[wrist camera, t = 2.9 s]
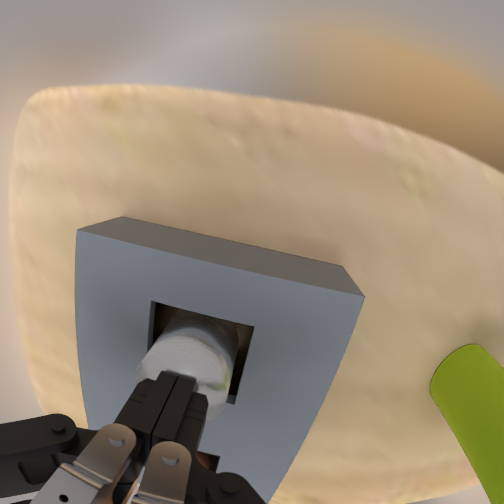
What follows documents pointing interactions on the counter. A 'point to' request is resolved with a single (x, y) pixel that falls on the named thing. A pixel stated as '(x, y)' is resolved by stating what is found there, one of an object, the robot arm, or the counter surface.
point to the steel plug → (196, 355)
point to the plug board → (224, 307)
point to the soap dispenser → (475, 411)
